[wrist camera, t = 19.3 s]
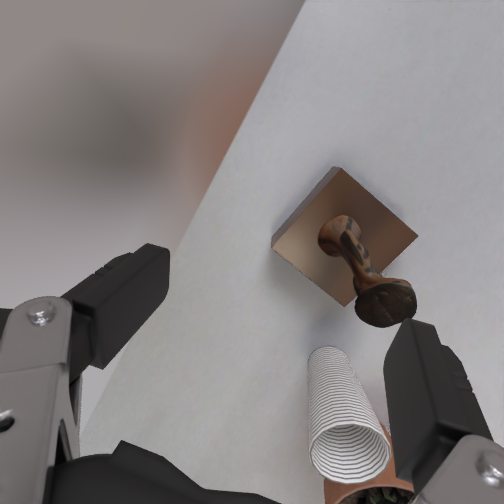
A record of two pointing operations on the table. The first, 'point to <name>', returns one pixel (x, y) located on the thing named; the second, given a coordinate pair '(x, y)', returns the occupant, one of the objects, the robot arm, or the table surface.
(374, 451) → the cup
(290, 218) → the walnut block
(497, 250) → the table surface
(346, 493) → the potted plant
